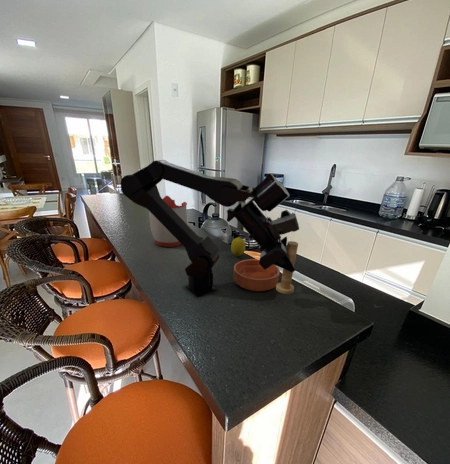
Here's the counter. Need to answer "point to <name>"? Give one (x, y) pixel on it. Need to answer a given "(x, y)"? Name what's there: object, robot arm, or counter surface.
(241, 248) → the lemon
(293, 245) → the wooden pestle
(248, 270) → the bowl
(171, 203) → the citrus juicer
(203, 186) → the robot arm
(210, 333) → the counter surface
